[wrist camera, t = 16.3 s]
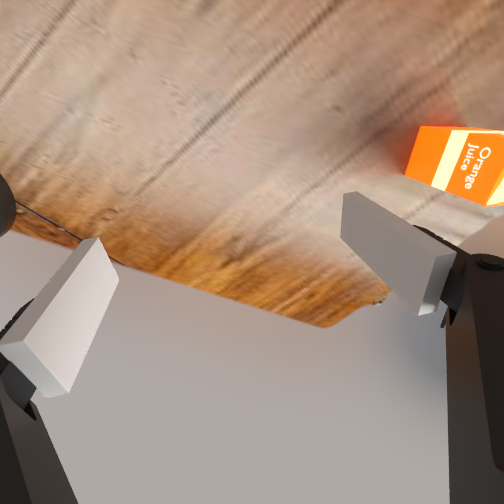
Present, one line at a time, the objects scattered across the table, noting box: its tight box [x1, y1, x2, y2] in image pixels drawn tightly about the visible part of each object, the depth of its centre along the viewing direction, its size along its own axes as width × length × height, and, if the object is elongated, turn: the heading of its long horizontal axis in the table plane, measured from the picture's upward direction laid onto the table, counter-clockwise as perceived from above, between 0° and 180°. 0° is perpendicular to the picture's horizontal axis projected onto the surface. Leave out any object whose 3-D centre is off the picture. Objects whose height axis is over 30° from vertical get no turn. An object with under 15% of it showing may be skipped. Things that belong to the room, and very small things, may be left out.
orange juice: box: [405, 126, 504, 206], centre depth 34 cm, size 8×9×20 cm
